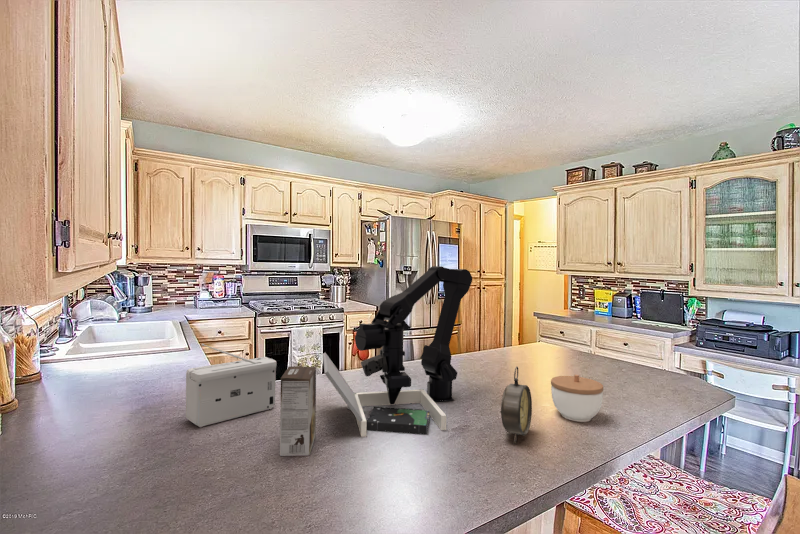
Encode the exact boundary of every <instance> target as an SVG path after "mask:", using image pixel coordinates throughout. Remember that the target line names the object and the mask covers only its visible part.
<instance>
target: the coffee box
mask: <svg viewBox="0 0 800 534" xmlns="http://www.w3.org/2000/svg"><path fill="white" fill-rule="evenodd" d="M279 403H280V408H279V410H280V414H279V415H280V416H279V420H280V421H279V456H280V457H294V456H295V457H297V456H301V457H302V456H304V457H305V456H310V455H311V453H312V449H313V446H314V442H315V439H316V433H317V432H316V419H317V418H316V413H317V411H316V410H317V409H316V408H317V366H302V365H301V366H300V365H299V366H298V365H296V366H288V367H287V369H286V370H285V371H284V373H283V374H282V376H281V377H280V402H279Z"/></svg>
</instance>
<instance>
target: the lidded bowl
mask: <svg viewBox="0 0 800 534" xmlns="http://www.w3.org/2000/svg"><path fill="white" fill-rule="evenodd" d="M550 385H551V398H552V402H553V404H554V408H556V410H557V411H558V412H559V413H560V415H561V417H562V418H565V419H566V420H569V421H573V422H578V423H588V422H590V421H591V420H592V418H595V417H596V415H598V413H599V412H600V410H601V407H602V404H603V398H604V397H603V396H604V395H603V394H604V393H603V392H604V385H603V384H602V383H601V382H599V381H597V380H595V379H591V378H586V377H583V376H580V374H573V375H559V376H554V377H552V378H551V379H550Z"/></svg>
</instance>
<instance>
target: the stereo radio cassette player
mask: <svg viewBox="0 0 800 534" xmlns="http://www.w3.org/2000/svg"><path fill="white" fill-rule="evenodd" d="M201 346H203V347H207V348H209V349H212V350H215V351H218V352H219V353H223V354H226V355H228V356H231V357H233V358H236V359H240V360H235V361H230V362H223V363H216V364H211V365H204V366H197V367H193V368H191V367H190V368H188V369H187V370H186V372H185V418H186V419H187V420H188V421H190V422H191V423H193V424H194V425H195V426H197V427H199V428H203V427H205V426H209V425H210V426H211V425H212V424H216V423H220V422H225V421H229V420H232V419H237V418H241V417H244V416H248V415H252V414H255V413H260V412H264V411H267V410H269V409H270V410H271V409H272V410H273V407H274V405H275V404H276V377H277V376H276V375H277V373H276V371H277V364H278V363H277V360H275V359H273V358H270V357H267V356H262V357H256V358H249V359H248V358H244V357H242V356H239V355H236V354H233V353H230V352H227V351H225V350H221V349H218V348H216V347H212V346H208V345H206V344H204V343H201Z"/></svg>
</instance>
